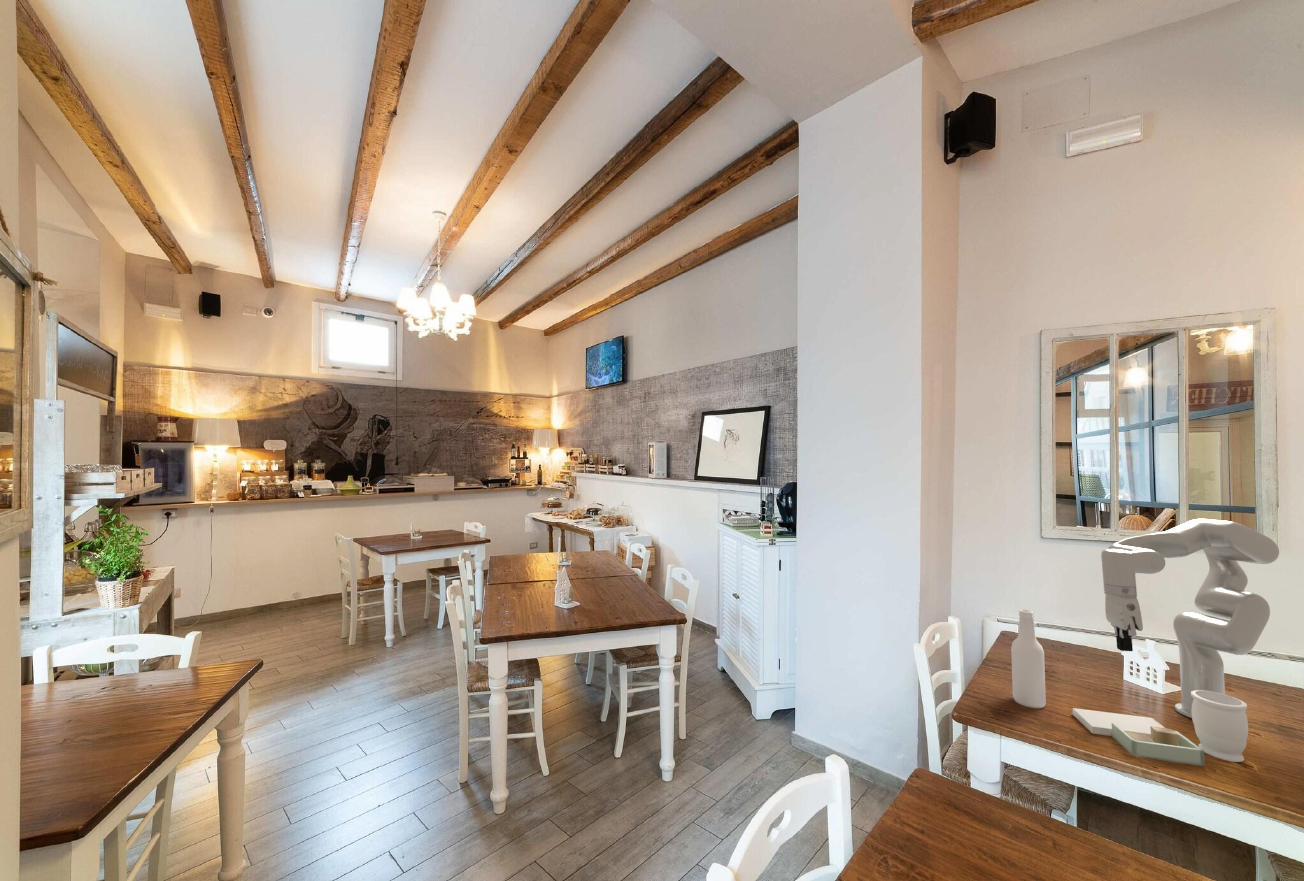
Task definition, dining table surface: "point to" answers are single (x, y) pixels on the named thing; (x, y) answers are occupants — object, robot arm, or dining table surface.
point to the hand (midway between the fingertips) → (1124, 650)
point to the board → (1103, 722)
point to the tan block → (1140, 737)
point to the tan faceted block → (1164, 736)
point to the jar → (1220, 724)
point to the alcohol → (1028, 664)
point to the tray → (1161, 748)
